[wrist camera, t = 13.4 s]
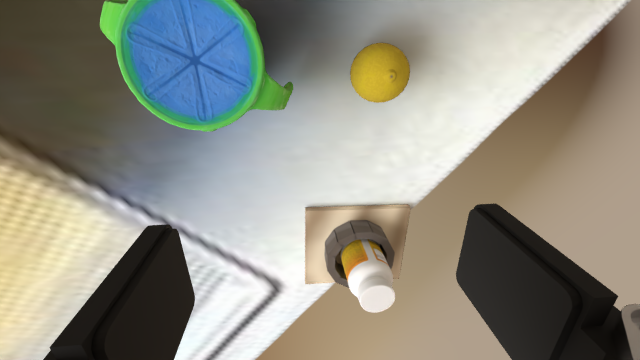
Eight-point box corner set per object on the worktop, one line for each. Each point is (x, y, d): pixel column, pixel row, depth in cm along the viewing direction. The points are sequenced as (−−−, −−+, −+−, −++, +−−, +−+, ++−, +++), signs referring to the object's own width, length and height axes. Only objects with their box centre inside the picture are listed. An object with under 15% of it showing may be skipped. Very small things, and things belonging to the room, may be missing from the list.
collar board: (407, 204, 40) (419, 219, 37) (396, 274, 45) (406, 293, 42) (305, 207, 39) (307, 223, 35) (305, 279, 44) (306, 299, 40)
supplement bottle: (336, 262, 42) (350, 318, 33) (340, 229, 40) (356, 280, 31) (373, 261, 42) (397, 317, 34) (379, 229, 40) (406, 279, 32)
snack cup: (125, 60, 30) (53, 64, 21) (165, -44, 27) (103, -94, 18) (262, 137, 35) (254, 169, 25) (309, 56, 32) (319, 57, 23)
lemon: (355, 36, 31) (375, 31, 24) (400, 54, 33) (433, 55, 25) (337, 87, 33) (351, 97, 26) (380, 103, 35) (406, 116, 27)
